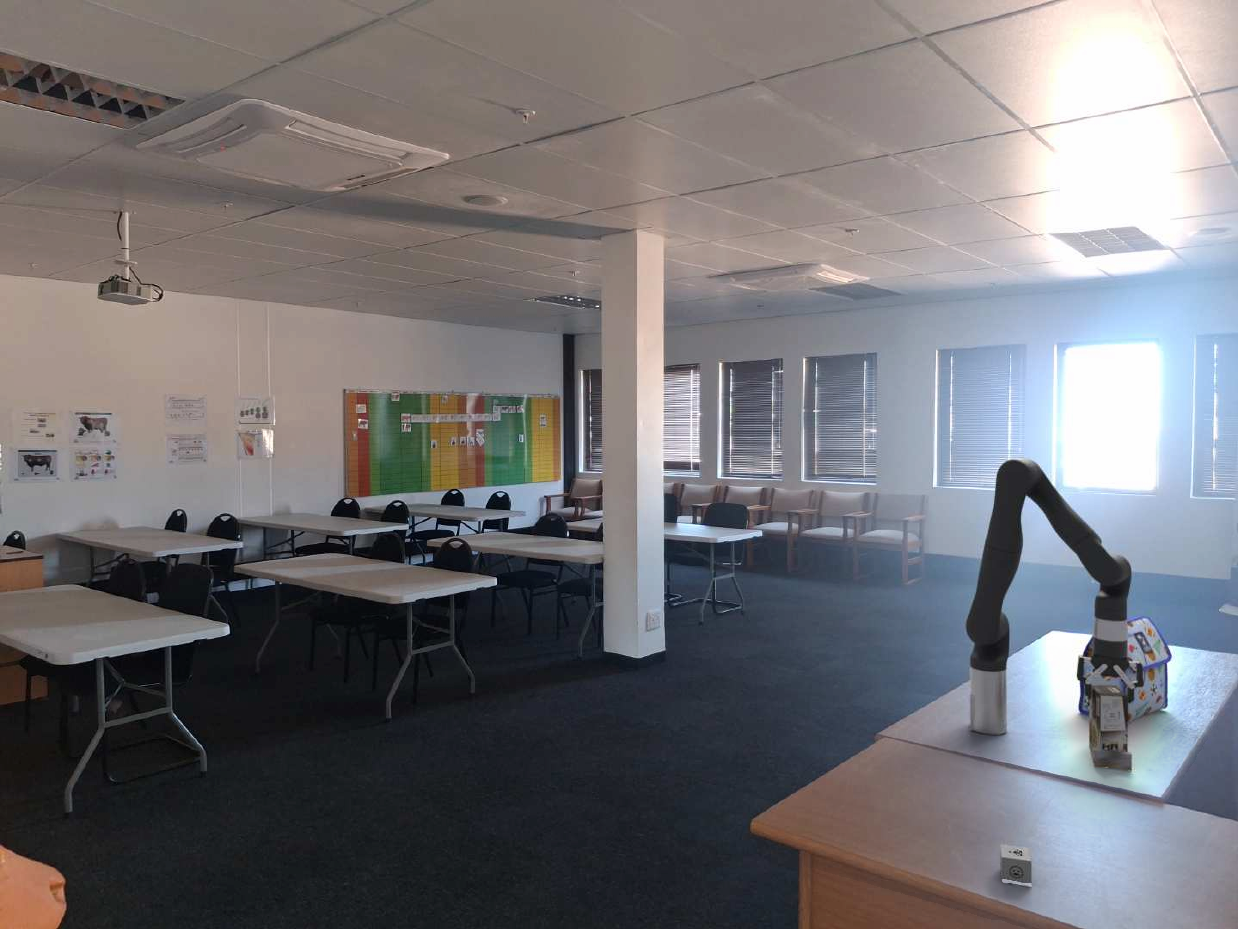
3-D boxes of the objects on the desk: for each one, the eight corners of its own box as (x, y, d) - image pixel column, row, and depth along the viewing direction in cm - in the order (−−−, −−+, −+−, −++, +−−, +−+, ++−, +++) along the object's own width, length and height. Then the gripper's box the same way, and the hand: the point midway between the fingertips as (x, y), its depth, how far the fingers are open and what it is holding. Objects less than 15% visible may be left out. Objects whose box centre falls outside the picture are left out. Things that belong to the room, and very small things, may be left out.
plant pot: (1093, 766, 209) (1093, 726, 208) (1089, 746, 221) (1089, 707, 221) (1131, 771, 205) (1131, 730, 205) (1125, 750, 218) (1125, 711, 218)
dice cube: (1031, 888, 157) (1031, 861, 156) (1001, 883, 158) (1001, 857, 158) (1029, 874, 161) (1029, 848, 161) (1000, 870, 163) (1000, 844, 163)
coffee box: (1129, 761, 209) (1129, 696, 208) (1100, 760, 210) (1099, 695, 209) (1116, 747, 217) (1116, 684, 217) (1088, 746, 219) (1088, 683, 218)
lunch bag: (1134, 730, 232) (1134, 632, 230) (1074, 713, 246) (1074, 620, 245) (1177, 713, 244) (1177, 619, 242) (1118, 698, 258) (1118, 609, 256)
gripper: (1078, 636, 212) (1077, 701, 213) (1145, 642, 206) (1144, 709, 207) (1076, 629, 218) (1075, 692, 219) (1141, 635, 212) (1140, 699, 213)
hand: (1108, 700), depth 213 cm, fingers open, 8 cm apart
